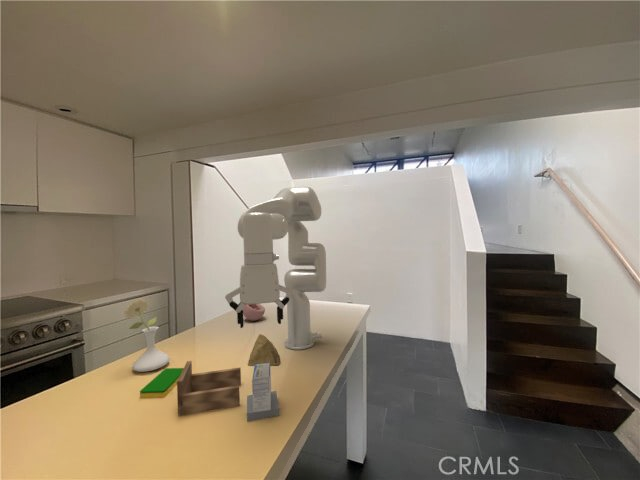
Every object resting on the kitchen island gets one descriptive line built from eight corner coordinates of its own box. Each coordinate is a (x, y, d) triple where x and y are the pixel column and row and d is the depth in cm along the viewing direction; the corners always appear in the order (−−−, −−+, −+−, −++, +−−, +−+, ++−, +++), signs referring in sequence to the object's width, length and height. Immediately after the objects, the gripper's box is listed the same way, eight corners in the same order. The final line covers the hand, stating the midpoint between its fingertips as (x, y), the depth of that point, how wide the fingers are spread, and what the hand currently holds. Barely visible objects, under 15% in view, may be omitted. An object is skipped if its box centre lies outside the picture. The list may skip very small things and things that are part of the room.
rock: (288, 354, 101) (269, 344, 107) (279, 341, 96) (260, 331, 102) (269, 381, 94) (250, 369, 100) (259, 368, 90) (240, 357, 95)
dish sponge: (186, 374, 93) (186, 367, 93) (164, 399, 79) (163, 390, 79) (165, 375, 93) (165, 368, 93) (139, 399, 79) (139, 391, 79)
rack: (240, 383, 86) (240, 354, 86) (239, 405, 74) (238, 372, 74) (188, 391, 82) (187, 361, 82) (178, 416, 71) (176, 381, 70)
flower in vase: (164, 357, 106) (162, 292, 105) (174, 366, 98) (171, 296, 97) (123, 369, 97) (120, 298, 96) (130, 381, 89) (127, 304, 88)
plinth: (276, 397, 78) (276, 390, 78) (279, 415, 70) (279, 407, 70) (247, 402, 76) (247, 395, 76) (247, 421, 68) (246, 413, 68)
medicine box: (270, 411, 69) (270, 376, 69) (252, 413, 68) (251, 378, 68) (271, 393, 76) (270, 362, 76) (254, 395, 76) (254, 363, 76)
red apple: (262, 323, 144) (262, 301, 144) (239, 323, 144) (239, 302, 144) (267, 316, 156) (266, 296, 156) (246, 317, 156) (245, 297, 156)
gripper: (289, 257, 78) (291, 316, 78) (225, 260, 74) (227, 323, 74) (293, 259, 71) (295, 325, 71) (222, 263, 66) (225, 333, 67)
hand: (260, 324), depth 73 cm, fingers open, 9 cm apart
